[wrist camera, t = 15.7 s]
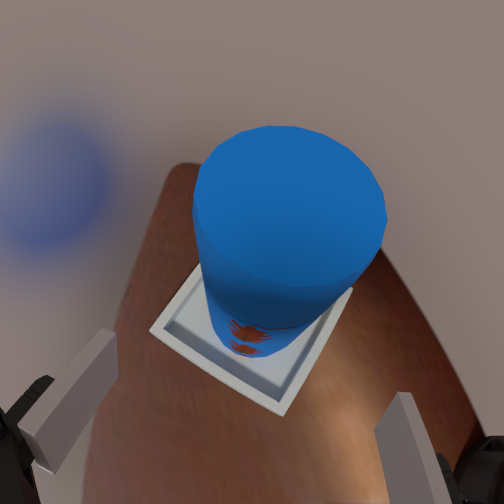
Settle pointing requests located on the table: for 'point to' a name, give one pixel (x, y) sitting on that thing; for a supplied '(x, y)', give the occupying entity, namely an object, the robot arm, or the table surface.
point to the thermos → (281, 233)
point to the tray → (237, 366)
